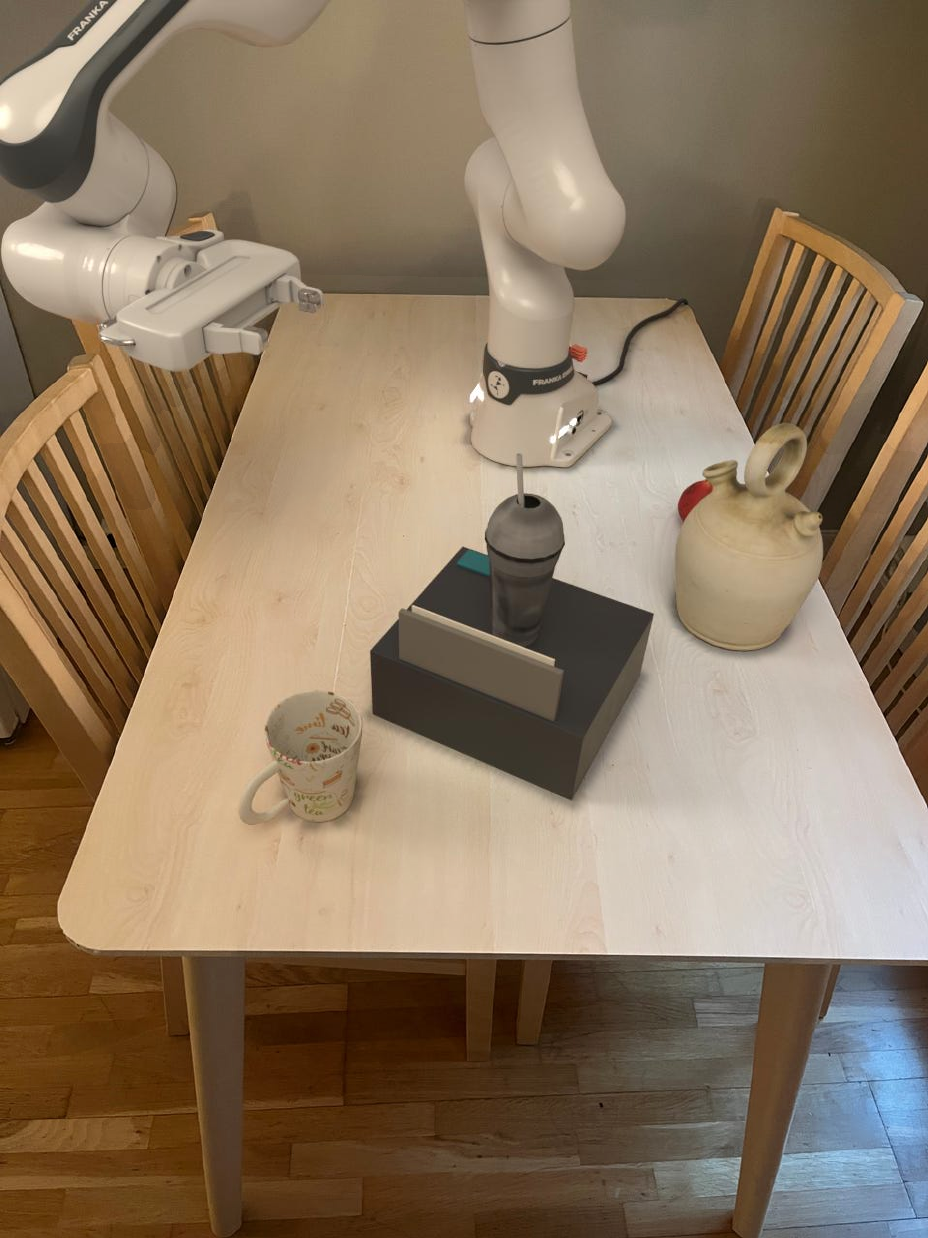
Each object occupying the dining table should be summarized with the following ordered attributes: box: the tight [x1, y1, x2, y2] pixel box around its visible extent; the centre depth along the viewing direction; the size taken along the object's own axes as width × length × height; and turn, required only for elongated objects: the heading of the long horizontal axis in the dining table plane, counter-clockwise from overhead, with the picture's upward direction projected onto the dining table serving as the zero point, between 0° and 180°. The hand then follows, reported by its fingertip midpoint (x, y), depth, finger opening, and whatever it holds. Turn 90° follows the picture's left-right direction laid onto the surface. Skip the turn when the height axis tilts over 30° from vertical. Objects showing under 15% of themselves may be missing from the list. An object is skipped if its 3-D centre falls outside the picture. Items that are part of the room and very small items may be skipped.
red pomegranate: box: [677, 478, 713, 523], centre depth 118 cm, size 6×6×8 cm
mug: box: [238, 689, 363, 826], centre depth 82 cm, size 8×13×10 cm, turn 138°
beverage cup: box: [484, 453, 566, 647], centre depth 84 cm, size 7×7×20 cm
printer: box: [369, 546, 655, 801], centre depth 92 cm, size 19×22×16 cm
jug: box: [674, 422, 824, 652], centre depth 99 cm, size 15×16×25 cm
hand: (293, 321), depth 81 cm, fingers open, 8 cm apart
